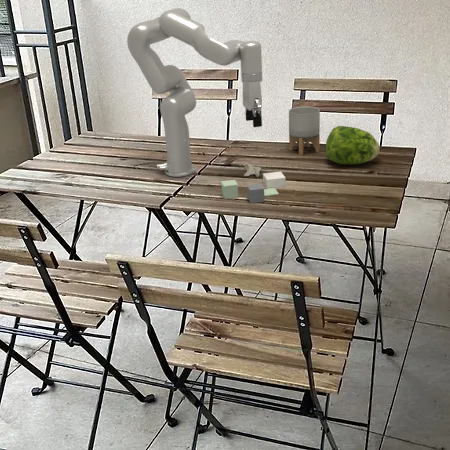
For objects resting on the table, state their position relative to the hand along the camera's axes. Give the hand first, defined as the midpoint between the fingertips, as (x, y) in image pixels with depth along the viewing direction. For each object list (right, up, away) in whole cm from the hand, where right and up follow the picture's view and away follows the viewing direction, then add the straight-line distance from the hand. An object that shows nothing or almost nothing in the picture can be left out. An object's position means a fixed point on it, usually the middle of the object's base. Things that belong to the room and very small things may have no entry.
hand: (253, 123), depth 233 cm
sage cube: (-9, -27, -4) cm, 29 cm away
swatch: (+5, -26, -4) cm, 27 cm away
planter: (+24, -6, +38) cm, 45 cm away
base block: (+8, -23, +3) cm, 24 cm away
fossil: (0, -17, +17) cm, 24 cm away
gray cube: (0, -29, -9) cm, 30 cm away
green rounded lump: (+41, -13, +20) cm, 47 cm away
